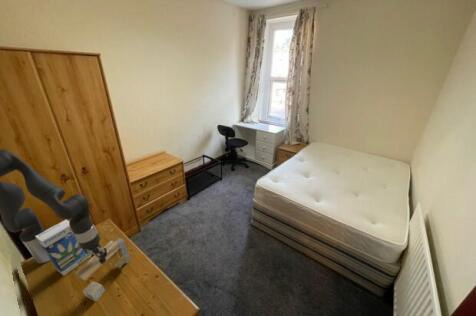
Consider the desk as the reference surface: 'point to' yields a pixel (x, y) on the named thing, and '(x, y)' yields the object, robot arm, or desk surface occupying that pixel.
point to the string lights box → (62, 247)
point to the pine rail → (96, 261)
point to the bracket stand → (96, 289)
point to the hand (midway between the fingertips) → (100, 260)
